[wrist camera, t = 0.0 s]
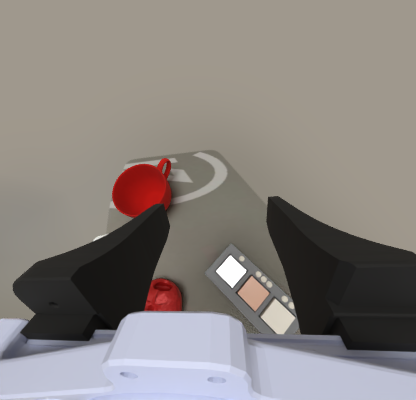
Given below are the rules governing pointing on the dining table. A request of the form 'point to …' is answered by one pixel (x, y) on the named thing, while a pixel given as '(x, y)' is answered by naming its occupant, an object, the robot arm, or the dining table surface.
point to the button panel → (250, 271)
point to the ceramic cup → (142, 188)
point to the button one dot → (231, 271)
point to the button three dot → (253, 293)
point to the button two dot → (277, 316)
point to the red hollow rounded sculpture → (163, 296)
